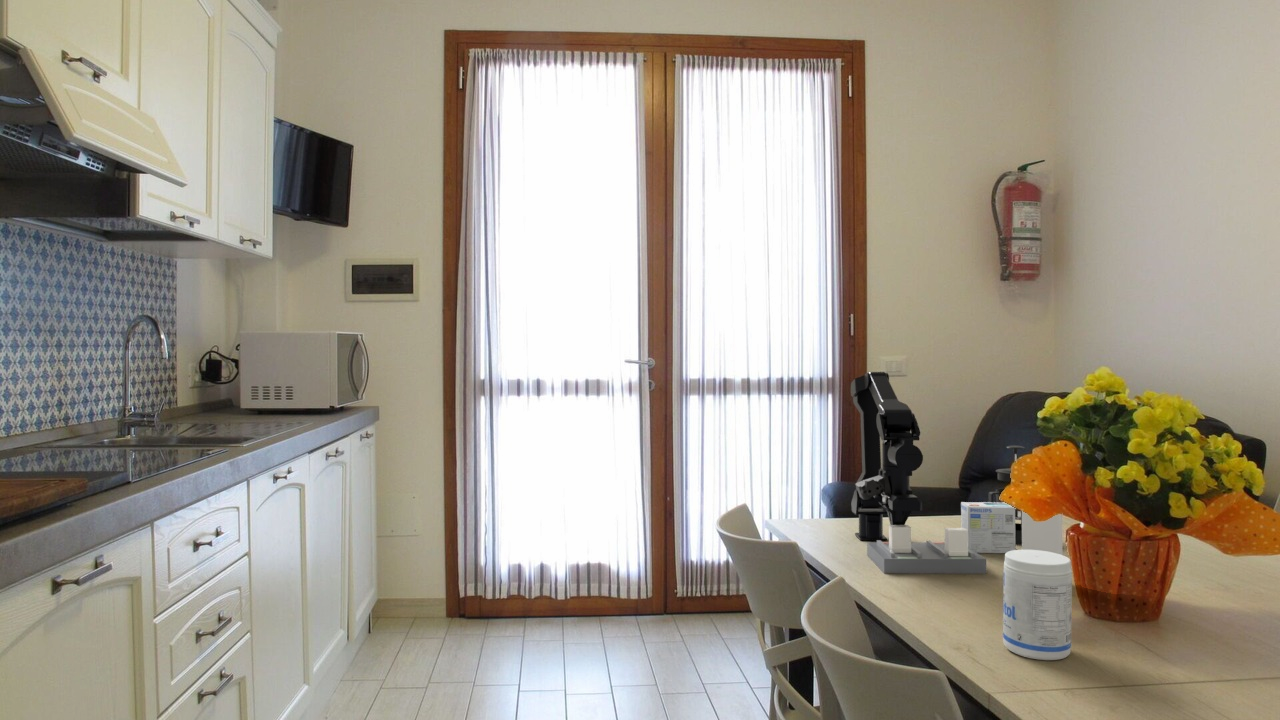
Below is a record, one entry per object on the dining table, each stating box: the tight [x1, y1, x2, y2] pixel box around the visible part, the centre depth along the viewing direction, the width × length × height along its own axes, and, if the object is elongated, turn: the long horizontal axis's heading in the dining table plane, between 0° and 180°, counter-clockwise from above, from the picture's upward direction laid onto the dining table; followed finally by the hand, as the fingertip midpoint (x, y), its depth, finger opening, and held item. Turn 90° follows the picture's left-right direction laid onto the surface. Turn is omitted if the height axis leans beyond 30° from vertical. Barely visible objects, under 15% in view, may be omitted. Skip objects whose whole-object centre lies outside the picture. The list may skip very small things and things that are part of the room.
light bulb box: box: [960, 501, 1016, 554], centre depth 193 cm, size 11×7×11 cm, turn 84°
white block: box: [888, 524, 912, 553], centre depth 180 cm, size 3×4×5 cm
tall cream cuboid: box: [944, 527, 968, 556], centre depth 176 cm, size 3×4×5 cm
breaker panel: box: [866, 539, 987, 575], centre depth 181 cm, size 15×21×4 cm
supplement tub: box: [1002, 549, 1073, 661], centre depth 128 cm, size 10×10×15 cm
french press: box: [988, 445, 1026, 546], centre depth 202 cm, size 12×9×23 cm
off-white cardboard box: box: [1021, 511, 1063, 555], centre depth 165 cm, size 7×7×19 cm
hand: (896, 536), depth 183 cm, fingers closed
